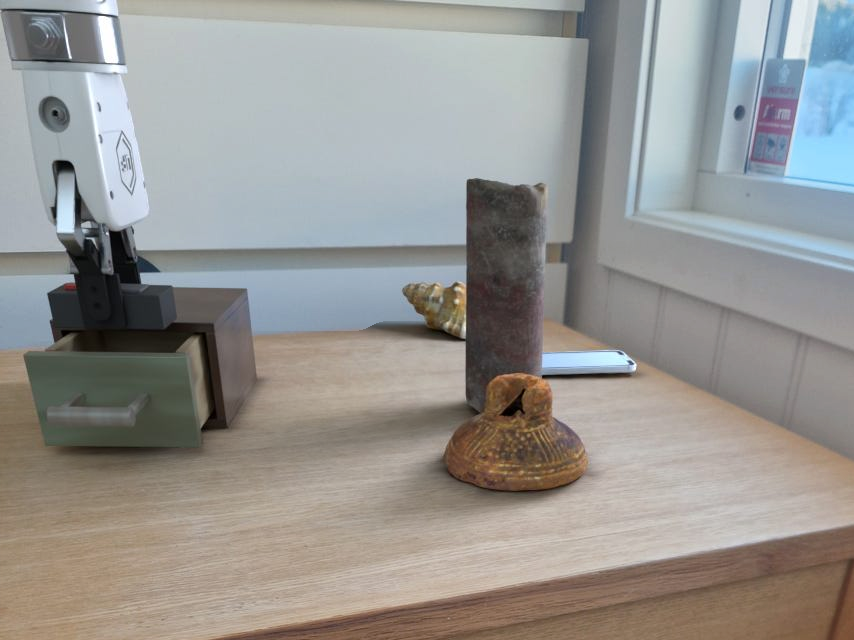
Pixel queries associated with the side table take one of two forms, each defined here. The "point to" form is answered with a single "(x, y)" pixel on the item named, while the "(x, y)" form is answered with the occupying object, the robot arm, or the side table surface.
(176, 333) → the drawer
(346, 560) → the side table surface
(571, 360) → the smartphone
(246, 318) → the cabinet
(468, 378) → the candle
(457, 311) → the seashell
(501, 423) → the bell
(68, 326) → the remote
